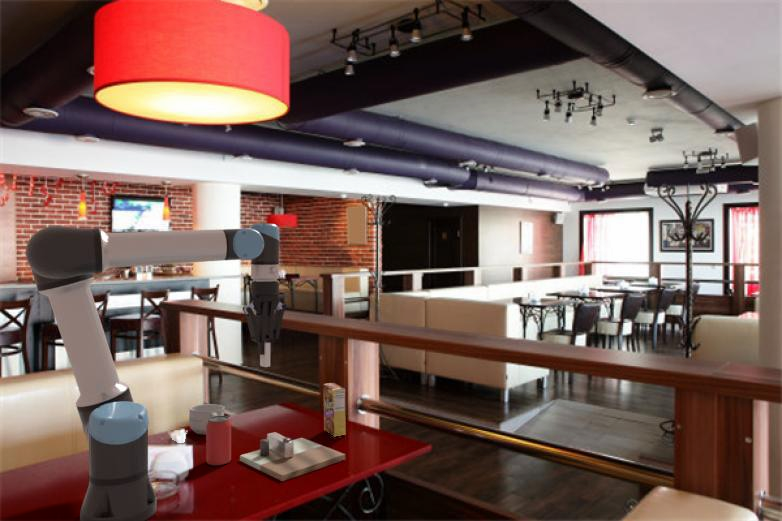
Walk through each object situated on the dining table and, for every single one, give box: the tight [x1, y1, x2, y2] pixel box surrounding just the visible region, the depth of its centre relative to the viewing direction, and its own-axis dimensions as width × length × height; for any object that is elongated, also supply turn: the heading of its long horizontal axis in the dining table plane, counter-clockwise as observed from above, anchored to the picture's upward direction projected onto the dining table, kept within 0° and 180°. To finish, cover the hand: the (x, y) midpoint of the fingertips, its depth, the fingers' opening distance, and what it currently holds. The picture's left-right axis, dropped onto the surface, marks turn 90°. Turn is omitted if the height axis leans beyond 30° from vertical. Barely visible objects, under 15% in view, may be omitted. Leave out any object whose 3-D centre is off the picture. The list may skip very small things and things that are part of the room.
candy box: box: [323, 382, 347, 438], centre depth 180 cm, size 9×4×15 cm, turn 28°
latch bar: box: [266, 431, 294, 458], centre depth 158 cm, size 10×3×5 cm, turn 40°
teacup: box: [188, 403, 225, 435], centre depth 180 cm, size 14×11×8 cm
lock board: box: [239, 437, 346, 482], centre depth 157 cm, size 21×20×6 cm
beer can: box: [205, 415, 232, 466], centre depth 155 cm, size 7×7×12 cm
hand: (265, 366), depth 155 cm, fingers closed
